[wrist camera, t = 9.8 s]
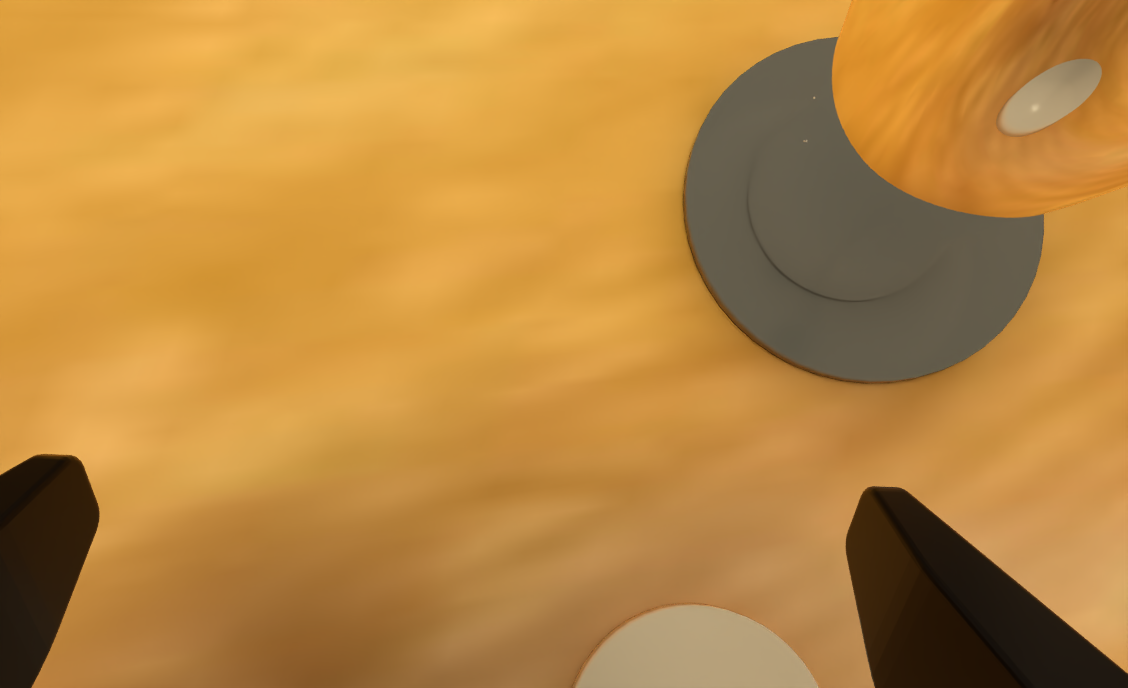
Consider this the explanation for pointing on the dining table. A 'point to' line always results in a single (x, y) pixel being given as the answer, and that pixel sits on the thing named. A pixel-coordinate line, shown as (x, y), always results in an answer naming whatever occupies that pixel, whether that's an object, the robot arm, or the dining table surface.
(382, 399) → the dining table surface
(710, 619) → the dish
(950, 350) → the coaster
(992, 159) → the beer glass
